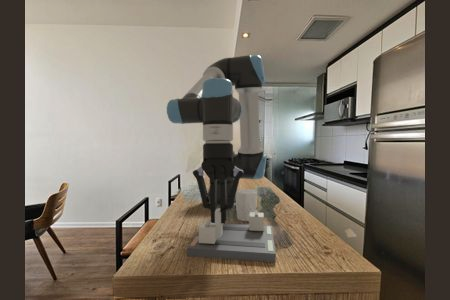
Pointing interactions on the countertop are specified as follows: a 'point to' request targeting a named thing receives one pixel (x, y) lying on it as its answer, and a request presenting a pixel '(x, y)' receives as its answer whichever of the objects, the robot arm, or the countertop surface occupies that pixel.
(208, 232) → the breaker
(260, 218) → the block
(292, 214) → the countertop surface
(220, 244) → the switch panel
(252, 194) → the white cup
